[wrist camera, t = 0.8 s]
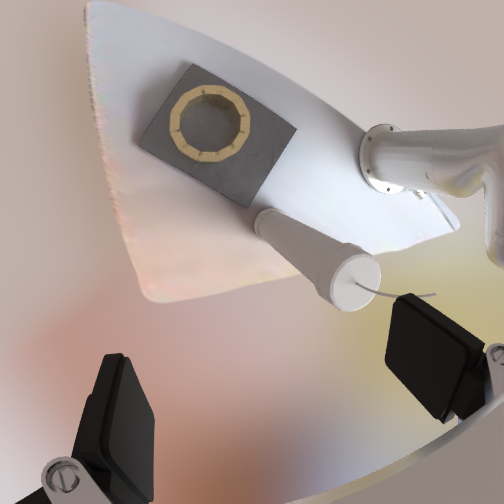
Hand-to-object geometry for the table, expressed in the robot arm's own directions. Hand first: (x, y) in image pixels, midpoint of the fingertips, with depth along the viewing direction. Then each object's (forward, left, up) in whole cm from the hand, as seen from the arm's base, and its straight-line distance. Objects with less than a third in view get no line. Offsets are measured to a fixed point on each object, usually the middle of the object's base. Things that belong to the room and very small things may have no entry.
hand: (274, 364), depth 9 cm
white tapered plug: (-11, -4, -36) cm, 37 cm away
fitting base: (+3, -11, -35) cm, 37 cm away
